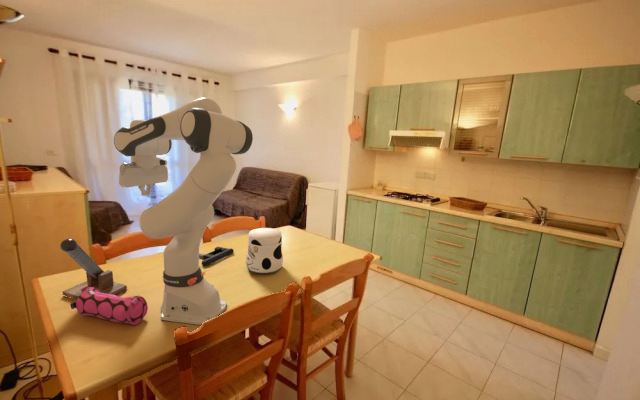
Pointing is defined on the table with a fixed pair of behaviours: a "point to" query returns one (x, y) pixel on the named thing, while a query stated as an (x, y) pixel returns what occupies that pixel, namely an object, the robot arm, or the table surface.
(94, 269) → the lever
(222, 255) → the door handle
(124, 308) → the pencil case
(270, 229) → the milk container
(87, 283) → the press stand
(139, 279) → the table surface
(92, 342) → the table surface
